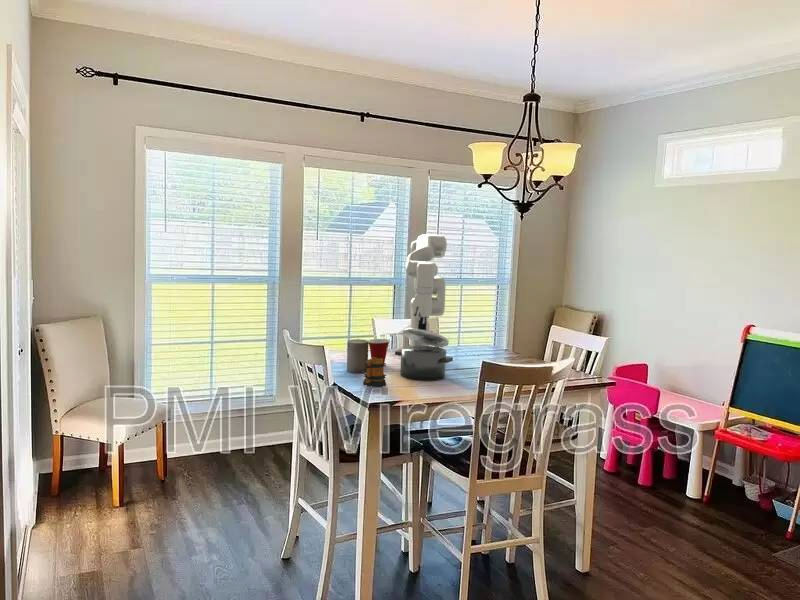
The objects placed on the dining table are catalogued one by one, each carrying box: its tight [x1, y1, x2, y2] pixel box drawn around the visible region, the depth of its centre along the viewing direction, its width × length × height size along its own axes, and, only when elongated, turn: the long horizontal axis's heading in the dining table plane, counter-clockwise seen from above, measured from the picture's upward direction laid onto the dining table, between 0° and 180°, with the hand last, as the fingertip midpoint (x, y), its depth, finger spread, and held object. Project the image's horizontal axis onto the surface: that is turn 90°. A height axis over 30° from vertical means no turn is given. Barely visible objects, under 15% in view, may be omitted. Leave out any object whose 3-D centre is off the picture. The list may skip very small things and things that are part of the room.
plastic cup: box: [367, 338, 391, 363], centre depth 300 cm, size 11×11×12 cm
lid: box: [402, 327, 449, 348], centre depth 281 cm, size 21×22×3 cm
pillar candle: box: [346, 338, 369, 374], centre depth 284 cm, size 10×10×15 cm
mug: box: [362, 357, 387, 388], centre depth 259 cm, size 13×10×12 cm
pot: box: [394, 345, 454, 382], centre depth 281 cm, size 26×20×12 cm
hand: (422, 332), depth 277 cm, fingers closed
